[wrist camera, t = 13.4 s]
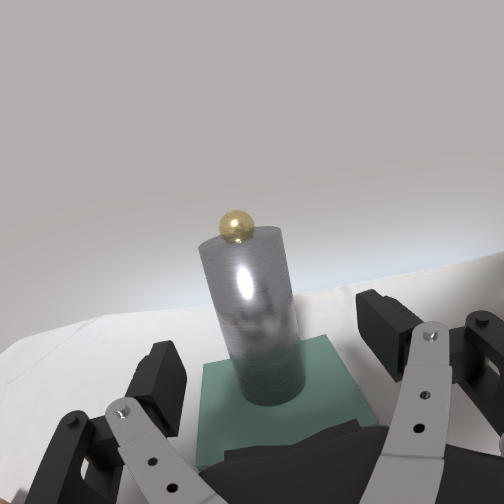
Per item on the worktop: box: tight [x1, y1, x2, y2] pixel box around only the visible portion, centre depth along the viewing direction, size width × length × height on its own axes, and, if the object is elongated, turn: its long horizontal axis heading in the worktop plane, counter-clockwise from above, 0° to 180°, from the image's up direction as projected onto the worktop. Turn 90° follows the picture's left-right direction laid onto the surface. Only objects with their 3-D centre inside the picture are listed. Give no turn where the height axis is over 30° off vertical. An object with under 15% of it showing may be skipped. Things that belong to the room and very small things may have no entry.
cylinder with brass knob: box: [198, 210, 306, 406], centre depth 18 cm, size 5×5×13 cm
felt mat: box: [196, 334, 379, 471], centre depth 18 cm, size 11×11×1 cm
